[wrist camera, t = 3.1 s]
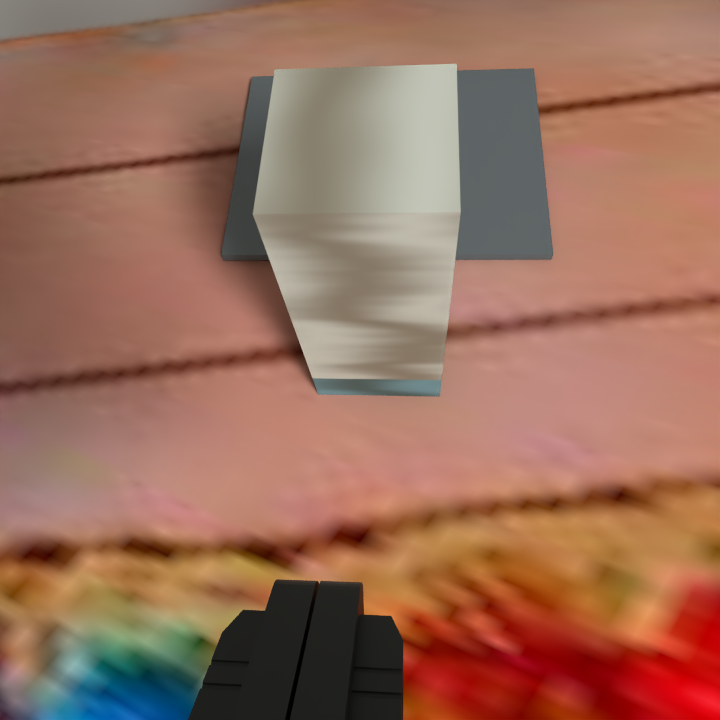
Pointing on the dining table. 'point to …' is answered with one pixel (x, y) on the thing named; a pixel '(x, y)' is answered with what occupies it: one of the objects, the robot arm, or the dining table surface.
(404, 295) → the block
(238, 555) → the dining table surface
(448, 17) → the dining table surface
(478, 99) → the mat
